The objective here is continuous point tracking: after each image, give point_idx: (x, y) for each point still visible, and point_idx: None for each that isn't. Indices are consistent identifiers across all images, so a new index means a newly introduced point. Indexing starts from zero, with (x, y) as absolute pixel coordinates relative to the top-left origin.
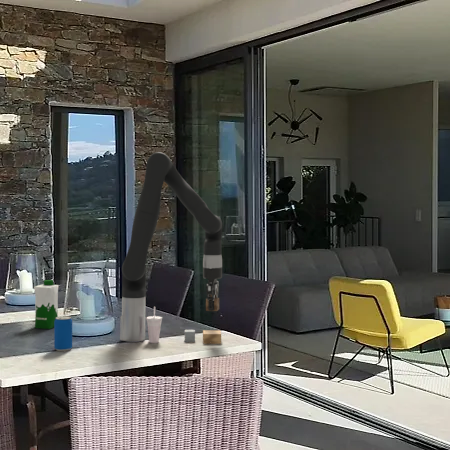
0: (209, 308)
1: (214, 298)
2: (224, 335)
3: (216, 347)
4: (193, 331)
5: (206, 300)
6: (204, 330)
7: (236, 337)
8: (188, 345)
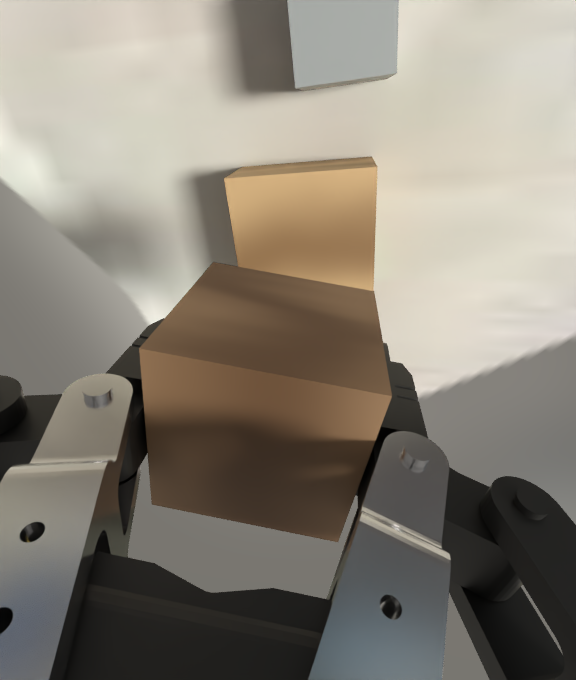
0: (154, 326)
1: (133, 492)
2: (500, 309)
3: (155, 257)
4: (306, 68)
5: (148, 347)
6: (374, 181)
7: (427, 370)
8: (161, 43)
